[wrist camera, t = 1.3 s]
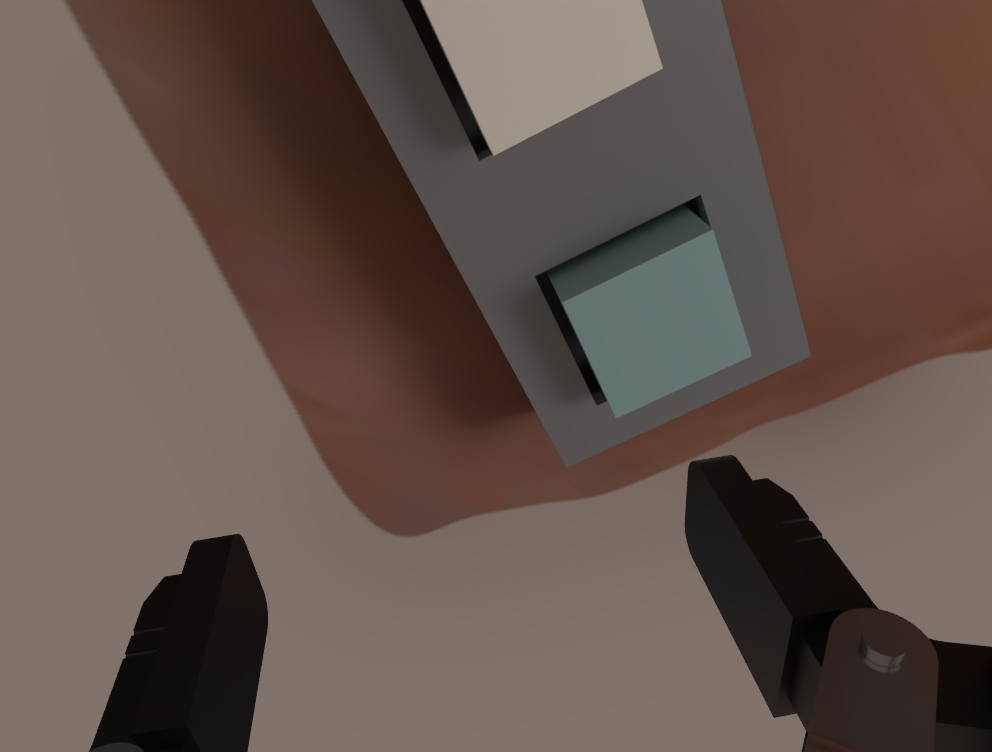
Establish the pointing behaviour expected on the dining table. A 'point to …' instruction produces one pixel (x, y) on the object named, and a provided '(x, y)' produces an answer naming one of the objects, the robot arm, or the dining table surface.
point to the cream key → (540, 58)
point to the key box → (583, 199)
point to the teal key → (652, 309)
